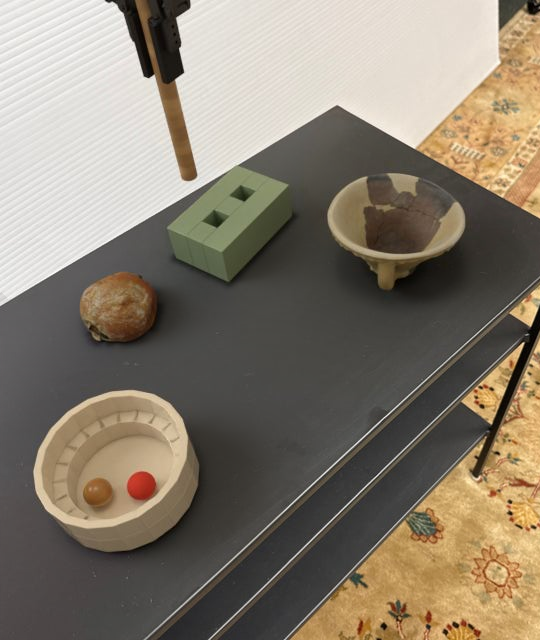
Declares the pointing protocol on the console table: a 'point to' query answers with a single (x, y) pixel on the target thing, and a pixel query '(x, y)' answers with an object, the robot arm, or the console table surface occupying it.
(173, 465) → the mixing bowl
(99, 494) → the bead
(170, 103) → the stick
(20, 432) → the console table surface
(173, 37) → the robot arm
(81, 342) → the console table surface
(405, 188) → the bowl
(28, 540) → the console table surface
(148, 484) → the bead
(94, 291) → the bread roll
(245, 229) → the holder
